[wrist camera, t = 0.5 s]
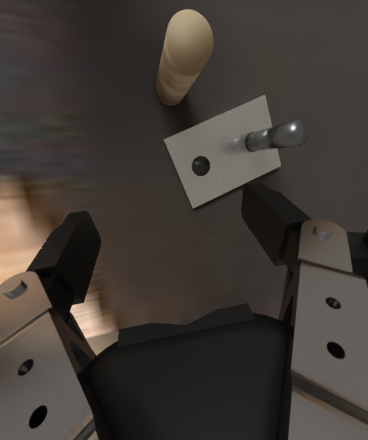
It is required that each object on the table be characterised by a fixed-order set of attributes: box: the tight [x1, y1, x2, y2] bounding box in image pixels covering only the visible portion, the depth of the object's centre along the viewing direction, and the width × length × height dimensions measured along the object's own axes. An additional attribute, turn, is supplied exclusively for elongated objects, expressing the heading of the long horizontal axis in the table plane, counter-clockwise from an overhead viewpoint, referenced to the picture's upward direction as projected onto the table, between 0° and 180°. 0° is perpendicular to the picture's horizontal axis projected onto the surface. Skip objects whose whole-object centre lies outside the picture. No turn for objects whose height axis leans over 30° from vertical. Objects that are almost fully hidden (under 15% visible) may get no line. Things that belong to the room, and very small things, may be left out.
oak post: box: [155, 9, 214, 106], centre depth 23 cm, size 4×4×12 cm
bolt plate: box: [163, 95, 310, 208], centre depth 28 cm, size 12×18×11 cm, turn 113°
